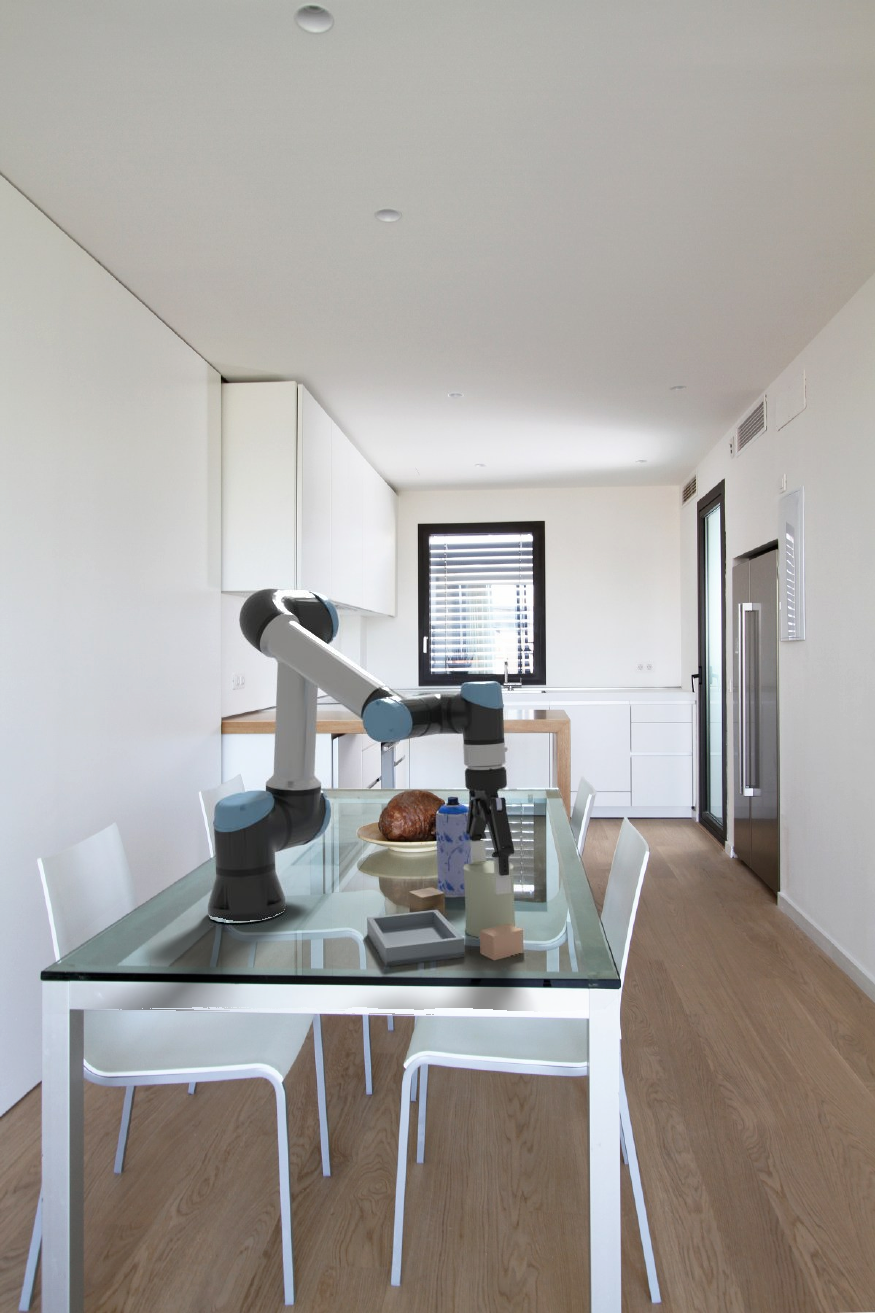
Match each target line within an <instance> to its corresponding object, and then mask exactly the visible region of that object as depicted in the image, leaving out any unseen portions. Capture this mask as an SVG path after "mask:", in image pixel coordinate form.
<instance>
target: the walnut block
mask: <svg viewBox="0 0 875 1313" xmlns="http://www.w3.org/2000/svg"><path fill="white" fill-rule="evenodd" d="M408 897H409V898H408V899H409V900H408V901H409V902H408V904H409V905H408V907H409V913H412V912H421V911H430V910H438V911H439V912H440V913H441V914H442V915H443V916H444V917H445V918H446V897H445V893H443V892H441V891H439V890H438V888H434V887H431V886H430V887H426V888H421V889H416V890H415V889H414V890H410V891H408Z"/></svg>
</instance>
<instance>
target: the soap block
mask: <svg viewBox="0 0 875 1313" xmlns="http://www.w3.org/2000/svg"><path fill="white" fill-rule="evenodd" d="M479 946H480V948H479V952H480V954H481V955H482V956H485V957H486V958H488V959H491V960H492V961H497V960H501V959H504V958H509V957H512V956H511V955H513V956H516V955H515V954H517V953H518V952H522V951H524V930H523V929H522V928H519V927H518V926H516V925H515V926H513V925H511V924H505V925H501V926H496V927H492V928H488V929H483V930H480V938H479ZM517 955H518V954H517Z"/></svg>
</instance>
